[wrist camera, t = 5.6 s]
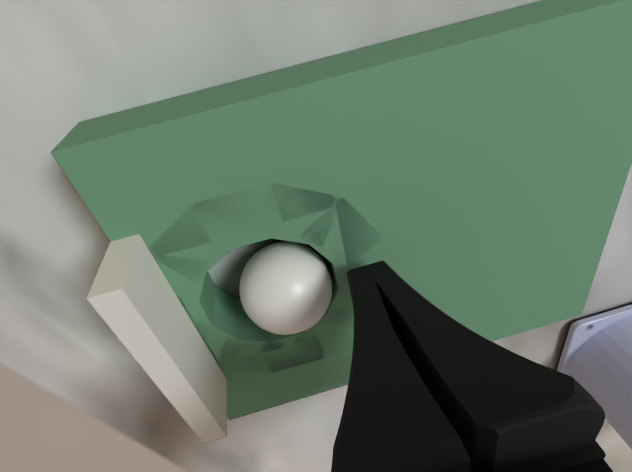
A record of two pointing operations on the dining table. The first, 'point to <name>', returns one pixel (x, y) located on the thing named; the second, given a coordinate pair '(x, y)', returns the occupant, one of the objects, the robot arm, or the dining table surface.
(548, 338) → the dining table surface
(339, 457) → the robot arm
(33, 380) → the dining table surface
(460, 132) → the green
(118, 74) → the dining table surface
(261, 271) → the ball
